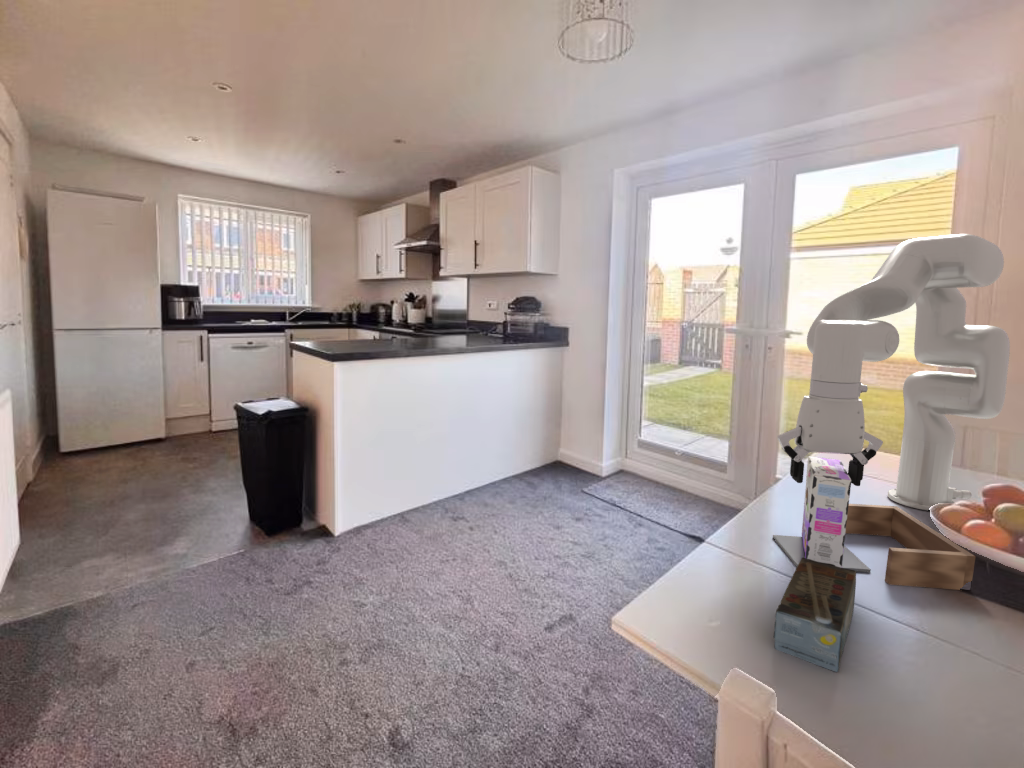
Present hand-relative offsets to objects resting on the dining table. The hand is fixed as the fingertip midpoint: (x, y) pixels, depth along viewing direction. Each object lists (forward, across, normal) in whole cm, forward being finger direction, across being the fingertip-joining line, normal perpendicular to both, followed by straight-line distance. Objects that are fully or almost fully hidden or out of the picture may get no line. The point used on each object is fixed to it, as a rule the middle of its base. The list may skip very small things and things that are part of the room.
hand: (825, 482), depth 93 cm
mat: (+14, 0, 0) cm, 14 cm away
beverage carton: (+15, +10, +24) cm, 30 cm away
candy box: (+14, 0, 0) cm, 14 cm away
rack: (+14, -13, -1) cm, 19 cm away
